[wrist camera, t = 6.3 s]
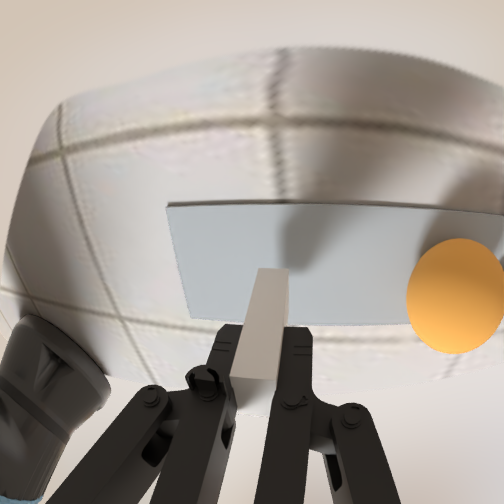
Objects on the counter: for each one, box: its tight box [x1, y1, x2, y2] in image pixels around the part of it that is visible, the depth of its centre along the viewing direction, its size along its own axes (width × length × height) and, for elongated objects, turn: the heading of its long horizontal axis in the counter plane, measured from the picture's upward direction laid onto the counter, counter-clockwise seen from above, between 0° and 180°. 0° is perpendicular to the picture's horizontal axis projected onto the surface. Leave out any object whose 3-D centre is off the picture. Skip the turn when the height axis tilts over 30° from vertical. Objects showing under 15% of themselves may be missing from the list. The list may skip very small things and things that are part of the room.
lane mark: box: [166, 204, 504, 326], centre depth 15 cm, size 28×8×1 cm, turn 94°
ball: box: [406, 238, 504, 354], centre depth 12 cm, size 6×6×6 cm
